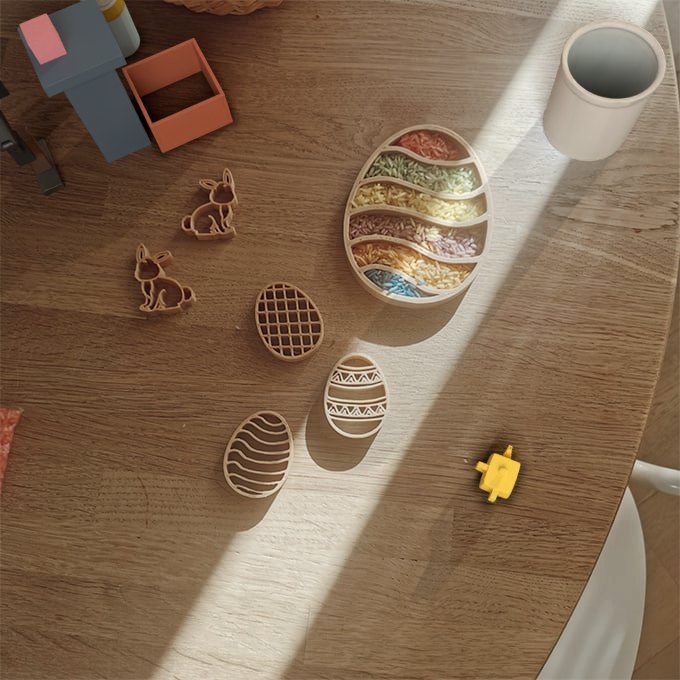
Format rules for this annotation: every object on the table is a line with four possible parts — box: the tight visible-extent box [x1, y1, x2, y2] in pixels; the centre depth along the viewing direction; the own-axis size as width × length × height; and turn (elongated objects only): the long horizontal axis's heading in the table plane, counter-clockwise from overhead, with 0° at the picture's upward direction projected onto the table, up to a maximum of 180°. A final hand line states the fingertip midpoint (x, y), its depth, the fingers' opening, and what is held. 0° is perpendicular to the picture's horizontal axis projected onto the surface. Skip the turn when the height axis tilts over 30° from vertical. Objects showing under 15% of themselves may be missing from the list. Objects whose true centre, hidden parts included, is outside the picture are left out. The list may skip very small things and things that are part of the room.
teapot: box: [474, 444, 521, 503], centre depth 102 cm, size 8×6×5 cm
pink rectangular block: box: [19, 13, 67, 64], centre depth 102 cm, size 4×4×4 cm
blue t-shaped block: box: [16, 0, 152, 164], centre depth 116 cm, size 12×12×24 cm
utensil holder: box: [542, 18, 667, 162], centre depth 115 cm, size 15×15×18 cm
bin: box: [121, 37, 234, 154], centre depth 124 cm, size 13×13×8 cm
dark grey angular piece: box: [13, 124, 66, 197], centre depth 120 cm, size 4×10×11 cm, turn 27°
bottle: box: [79, 0, 141, 59], centre depth 127 cm, size 7×7×15 cm
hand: (14, 128), depth 113 cm, fingers open, 13 cm apart
